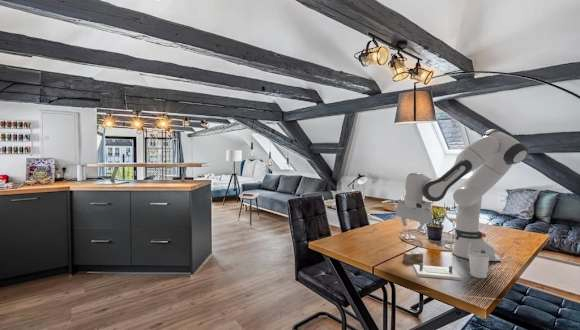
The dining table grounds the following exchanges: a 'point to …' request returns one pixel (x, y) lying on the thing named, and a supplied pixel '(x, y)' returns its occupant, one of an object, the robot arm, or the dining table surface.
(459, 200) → the robot arm
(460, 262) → the dining table surface
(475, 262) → the pale white cylinder
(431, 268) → the wall panel
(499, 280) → the dining table surface
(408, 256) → the walnut frame
